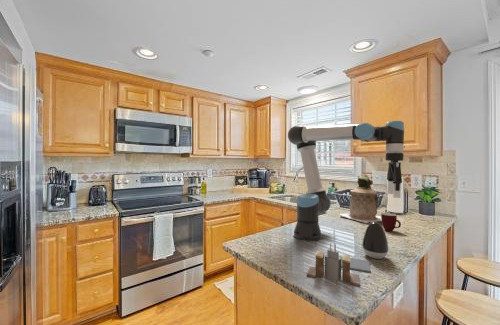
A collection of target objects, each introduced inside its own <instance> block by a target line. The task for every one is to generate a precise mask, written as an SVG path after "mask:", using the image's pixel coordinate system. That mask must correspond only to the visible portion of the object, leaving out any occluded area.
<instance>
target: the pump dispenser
mask: <svg viewBox="0 0 500 325" xmlns="http://www.w3.org/2000/svg"><path fill="white" fill-rule="evenodd" d="M367 224H368V226H367V227H366V229H365V232H364V234H363V237H362V242H361V243H362V245H361V246H362V249H363V252H364V253H365V255H366V256H368V257H369V258H371V259H375V260H380V259H385V257H386V256H387V254H388V253H389V243H388V238H387V235H386V232H385V229H384V227H383V225H382V224H381V223H379V222H372V223H371V222H370V221H368V222H367Z"/></svg>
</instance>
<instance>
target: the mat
mask: <svg viewBox="0 0 500 325" xmlns="http://www.w3.org/2000/svg"><path fill="white" fill-rule="evenodd" d="M339 257H340V258H341V269H342V256H340V255H339ZM350 270H352V271H353V270H354V271H357V272H358V271H359V272H364V273H371V272H372V270H371V265H370V260H365V259H358V258H352V257H350Z"/></svg>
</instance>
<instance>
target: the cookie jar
mask: <svg viewBox="0 0 500 325" xmlns="http://www.w3.org/2000/svg"><path fill="white" fill-rule="evenodd" d="M357 184H358V186H357V187H356V188H354V189H351V190H350V194H351V196H350V202H349V213H339V216H340V218H342V217H343V218H345V219H346V218H347V219H349V220H354V221H356V222H360V223H363V224H365V225H366V224H368V221H370V222H371V223H372V222H377V223H379V222H382V219H381V215H377V214H378V192H377V191H376V190H374V189H373V188H372V187H371V186H372V185H374V182H373V180H372V179H370V178H369V177H367V176H361V175H357Z"/></svg>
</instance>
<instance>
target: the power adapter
mask: <svg viewBox="0 0 500 325" xmlns="http://www.w3.org/2000/svg"><path fill="white" fill-rule="evenodd" d="M329 245H330V246H329V248H328V247H327V249H326V251H327V253H326V254H324V276H325V277H328V278H330V279H333V280H334V281H340V280H342V268H341V258H340V257H341V256H340V255H339V250H337V248H336V243H335V244H334V248H332V243H331V242H330V243H329ZM339 256H340V257H339Z"/></svg>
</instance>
